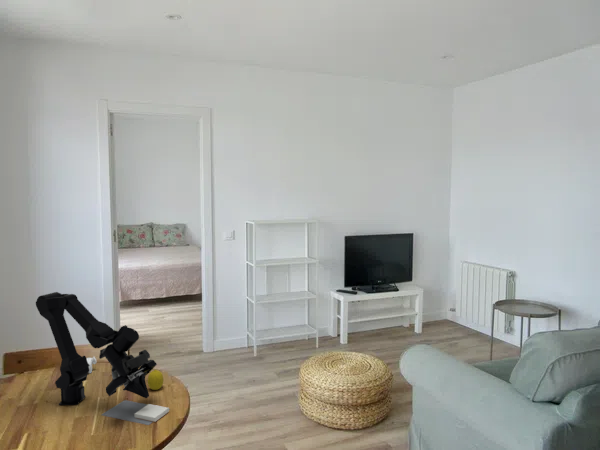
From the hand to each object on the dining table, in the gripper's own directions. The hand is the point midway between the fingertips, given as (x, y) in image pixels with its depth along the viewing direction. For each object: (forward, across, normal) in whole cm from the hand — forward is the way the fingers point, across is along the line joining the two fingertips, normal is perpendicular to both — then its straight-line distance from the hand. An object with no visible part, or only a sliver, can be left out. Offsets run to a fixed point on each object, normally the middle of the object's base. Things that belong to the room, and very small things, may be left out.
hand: (147, 397), depth 145 cm
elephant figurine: (-29, +22, +39) cm, 53 cm away
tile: (+2, 0, +5) cm, 5 cm away
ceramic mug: (-16, +21, +25) cm, 36 cm away
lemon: (-2, +17, +12) cm, 21 cm away
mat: (+1, 0, +8) cm, 8 cm away
